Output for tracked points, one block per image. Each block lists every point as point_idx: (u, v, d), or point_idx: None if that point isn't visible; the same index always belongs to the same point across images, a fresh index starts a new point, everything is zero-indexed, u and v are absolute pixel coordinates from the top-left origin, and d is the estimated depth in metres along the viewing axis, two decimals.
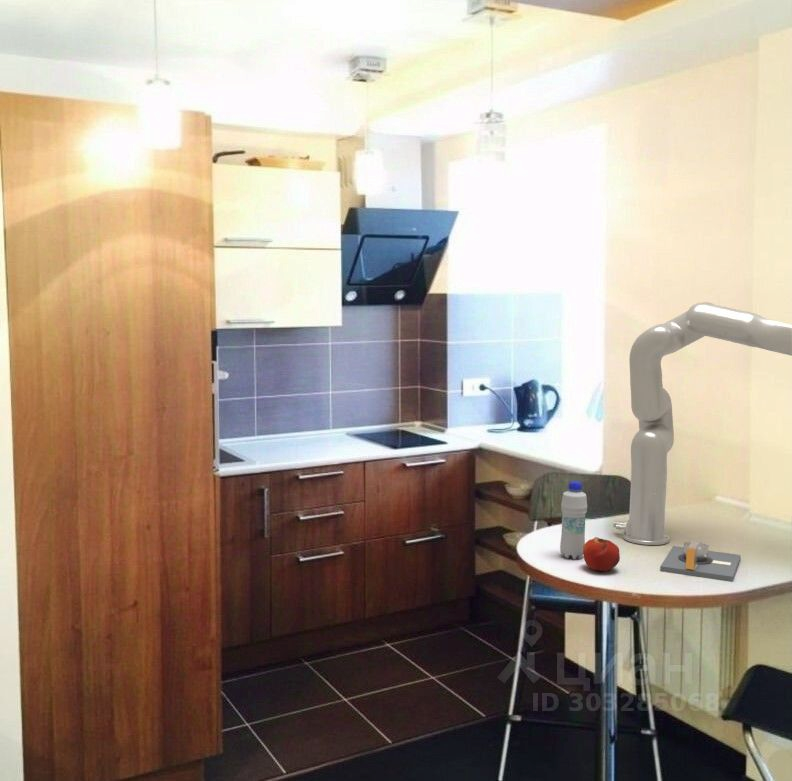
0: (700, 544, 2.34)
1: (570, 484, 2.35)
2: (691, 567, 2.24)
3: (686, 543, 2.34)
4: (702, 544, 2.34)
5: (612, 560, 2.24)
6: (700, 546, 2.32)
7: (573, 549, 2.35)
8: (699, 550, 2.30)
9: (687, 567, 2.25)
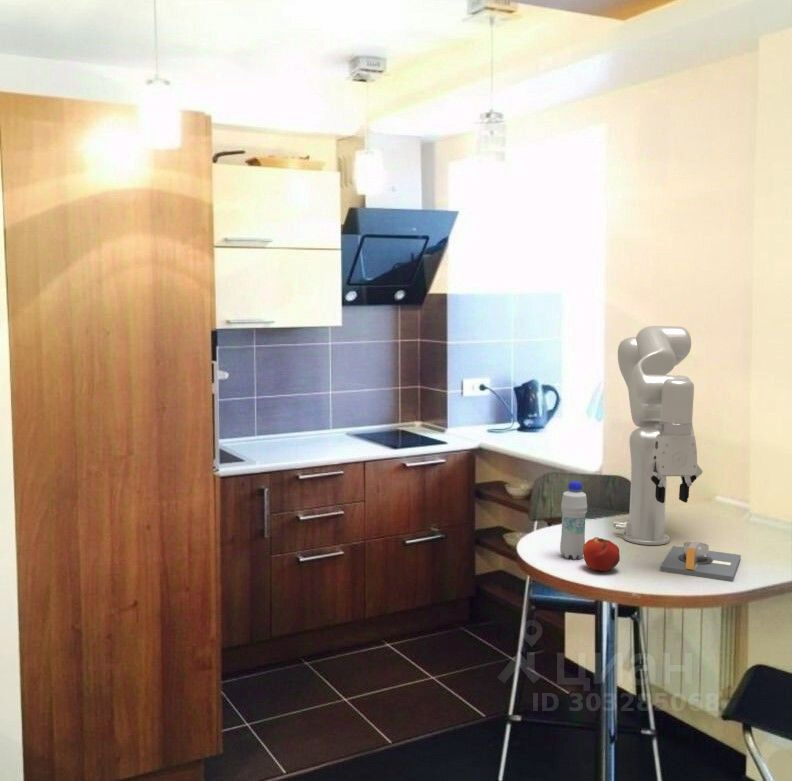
0: (700, 544, 2.34)
1: (570, 484, 2.35)
2: (691, 567, 2.24)
3: (686, 543, 2.34)
4: (702, 544, 2.34)
5: (612, 560, 2.24)
6: (700, 546, 2.32)
7: (573, 549, 2.35)
8: (699, 550, 2.30)
9: (687, 567, 2.25)
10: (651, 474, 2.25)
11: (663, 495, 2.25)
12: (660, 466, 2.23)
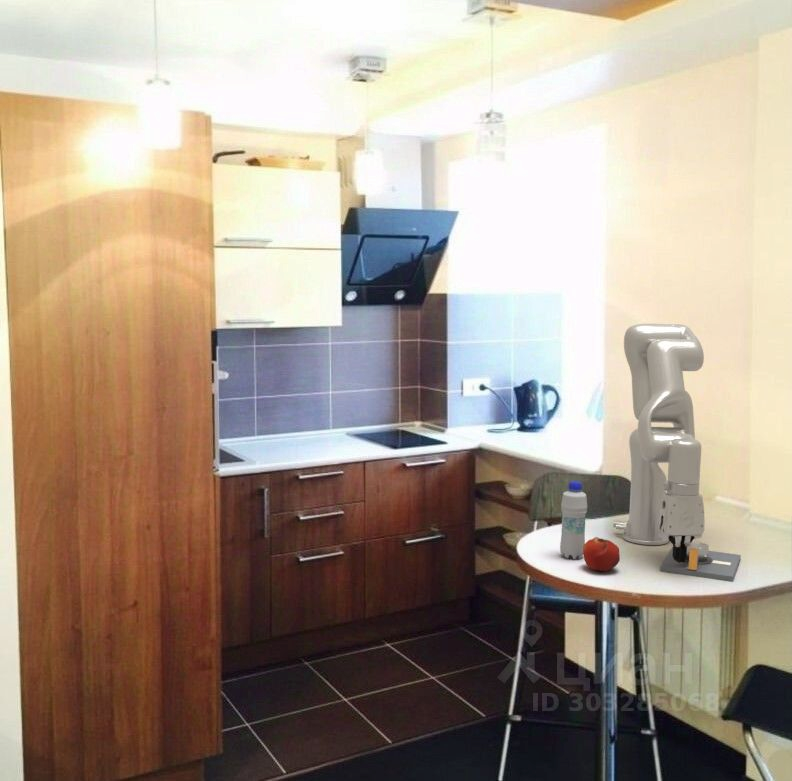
0: (700, 544, 2.34)
1: (570, 484, 2.35)
2: (694, 567, 2.24)
3: None
4: (702, 543, 2.34)
5: (612, 560, 2.24)
6: (700, 546, 2.32)
7: (573, 549, 2.35)
8: (700, 550, 2.30)
9: (690, 567, 2.25)
10: (666, 536, 2.27)
11: (680, 555, 2.27)
12: (667, 526, 2.24)
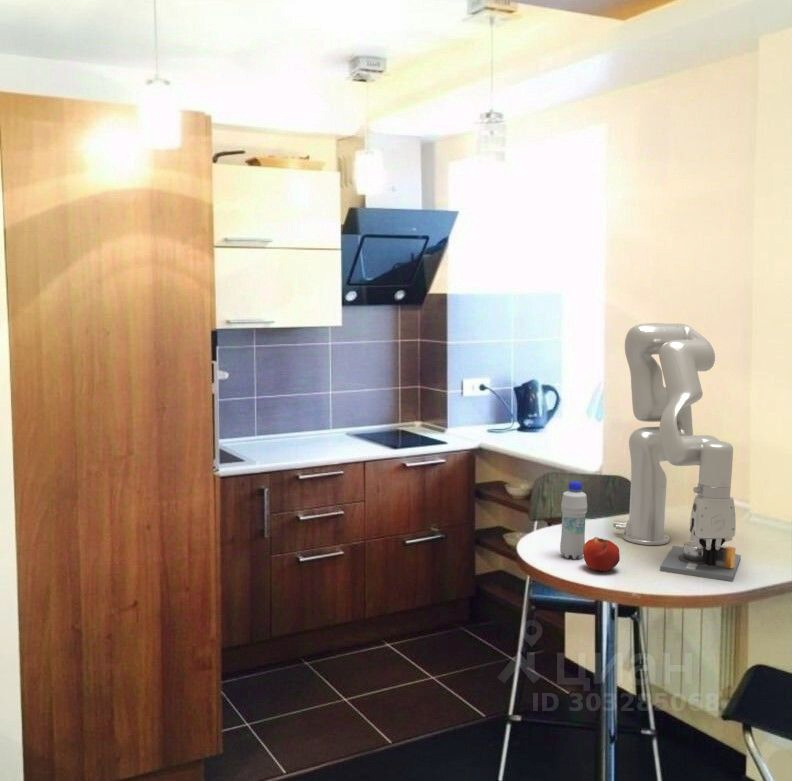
0: (694, 543, 2.35)
1: (570, 484, 2.35)
2: (733, 565, 2.27)
3: (691, 546, 2.32)
4: (692, 542, 2.35)
5: (612, 560, 2.24)
6: None
7: (573, 549, 2.35)
8: None
9: (731, 566, 2.26)
10: (697, 539, 2.25)
11: (711, 558, 2.25)
12: (698, 529, 2.23)
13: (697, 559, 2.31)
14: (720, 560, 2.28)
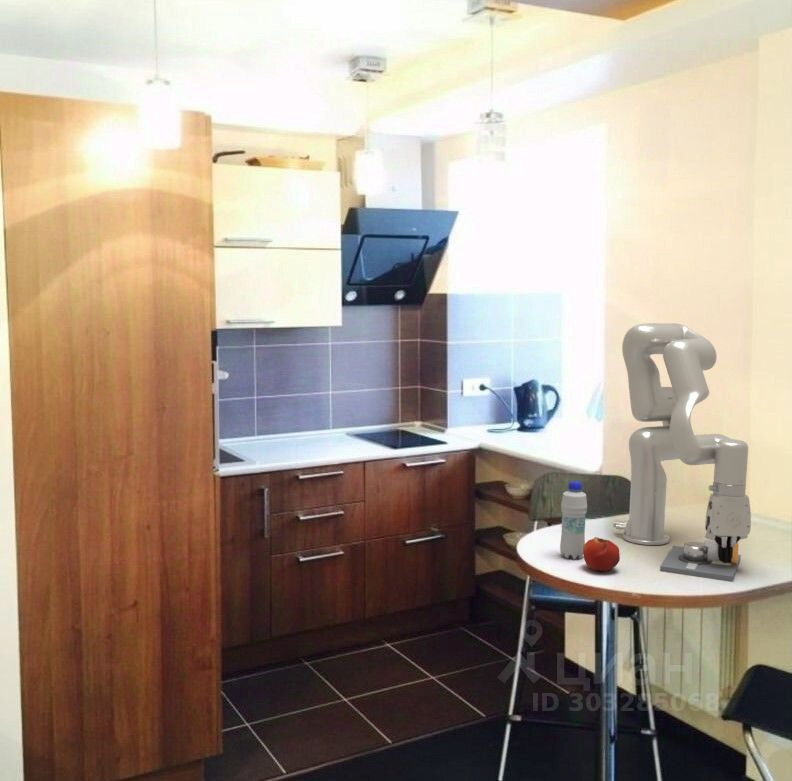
0: (691, 543, 2.34)
1: (570, 484, 2.35)
2: None
3: (696, 547, 2.31)
4: (689, 543, 2.35)
5: (612, 560, 2.24)
6: (699, 544, 2.34)
7: (573, 549, 2.35)
8: None
9: (737, 561, 2.30)
10: (713, 537, 2.27)
11: (726, 555, 2.27)
12: (714, 527, 2.24)
13: (703, 559, 2.31)
14: None
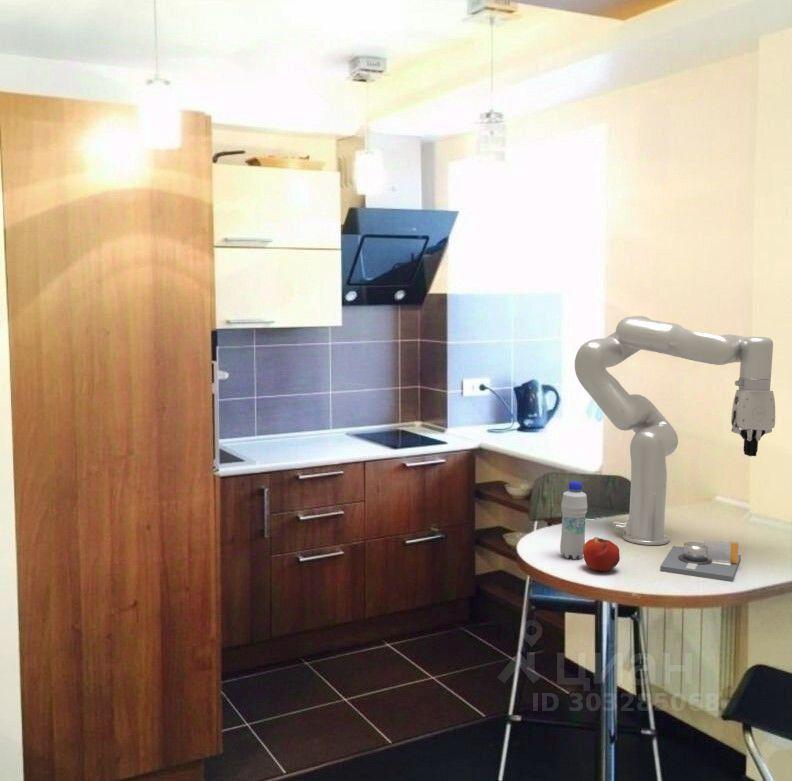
0: (691, 543, 2.34)
1: (570, 484, 2.35)
2: None
3: (696, 547, 2.31)
4: (689, 543, 2.35)
5: (612, 560, 2.24)
6: (699, 544, 2.34)
7: (573, 549, 2.35)
8: None
9: (737, 561, 2.30)
10: (739, 431, 2.36)
11: (752, 449, 2.36)
12: (740, 420, 2.33)
13: (703, 559, 2.31)
14: (726, 556, 2.31)
